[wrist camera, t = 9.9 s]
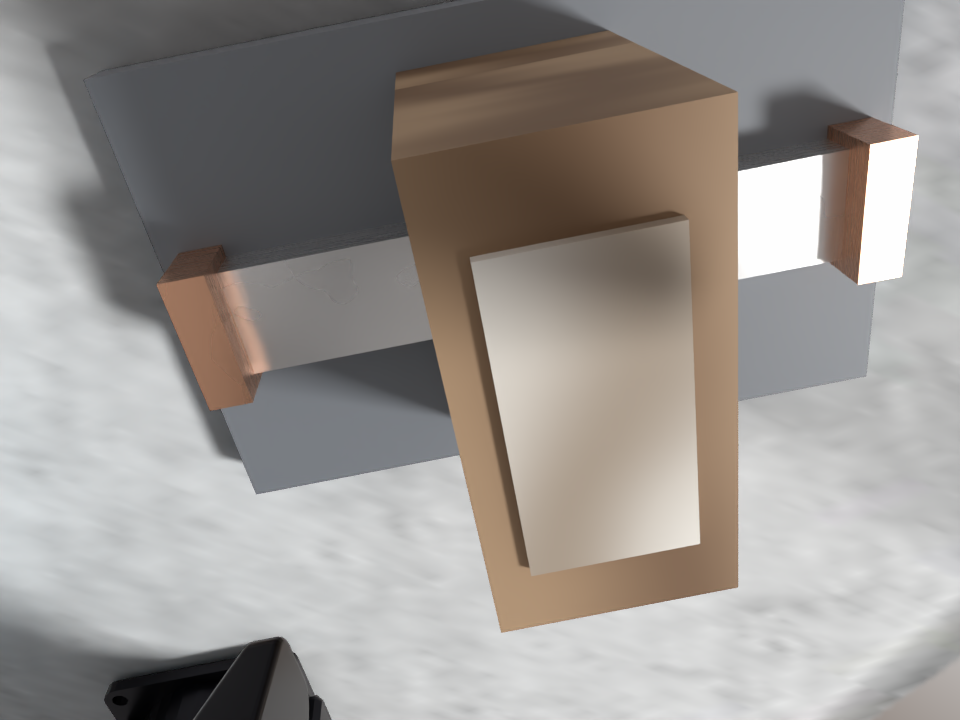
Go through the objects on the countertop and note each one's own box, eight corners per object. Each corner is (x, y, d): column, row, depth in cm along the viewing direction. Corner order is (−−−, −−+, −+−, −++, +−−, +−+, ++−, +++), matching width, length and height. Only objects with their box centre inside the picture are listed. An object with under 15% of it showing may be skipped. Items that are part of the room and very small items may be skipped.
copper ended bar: (226, 371, 19) (210, 410, 17) (178, 253, 17) (155, 284, 16) (859, 247, 19) (901, 276, 17) (871, 116, 17) (919, 135, 15)
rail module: (471, 422, 20) (502, 641, 14) (395, 72, 16) (390, 164, 9) (637, 389, 20) (742, 595, 14) (608, 30, 16) (744, 94, 9)
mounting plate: (263, 467, 22) (256, 494, 21) (103, 70, 16) (83, 79, 15) (843, 355, 22) (866, 376, 21) (880, -84, 16) (913, -85, 15)
